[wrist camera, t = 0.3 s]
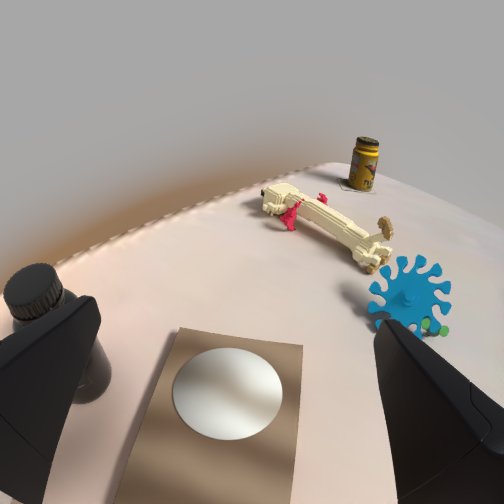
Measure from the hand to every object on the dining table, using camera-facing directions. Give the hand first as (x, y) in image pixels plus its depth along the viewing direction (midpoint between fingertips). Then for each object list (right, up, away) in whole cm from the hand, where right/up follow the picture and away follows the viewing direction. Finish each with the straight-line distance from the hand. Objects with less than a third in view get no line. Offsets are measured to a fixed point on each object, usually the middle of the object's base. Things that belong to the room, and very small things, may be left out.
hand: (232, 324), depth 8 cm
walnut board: (-2, -13, +10) cm, 17 cm away
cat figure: (+11, +5, +38) cm, 40 cm away
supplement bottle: (-16, -10, +14) cm, 23 cm away
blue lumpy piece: (+18, -7, +22) cm, 29 cm away
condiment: (+25, +17, +57) cm, 64 cm away
